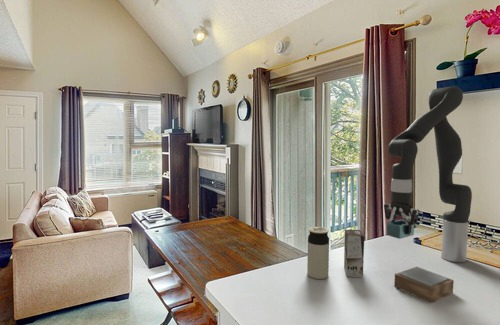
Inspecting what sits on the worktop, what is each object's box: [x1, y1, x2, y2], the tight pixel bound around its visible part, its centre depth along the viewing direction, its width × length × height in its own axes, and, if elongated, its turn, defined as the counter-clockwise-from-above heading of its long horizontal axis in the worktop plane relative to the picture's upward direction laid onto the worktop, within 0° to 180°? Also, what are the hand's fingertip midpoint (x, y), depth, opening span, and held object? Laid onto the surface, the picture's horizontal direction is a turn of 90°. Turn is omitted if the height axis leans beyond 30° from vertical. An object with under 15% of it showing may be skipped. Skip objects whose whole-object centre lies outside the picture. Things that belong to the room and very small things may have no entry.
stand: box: [393, 266, 454, 304], centre depth 107 cm, size 13×13×5 cm
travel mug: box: [306, 226, 330, 280], centre depth 118 cm, size 8×8×18 cm
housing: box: [386, 219, 415, 240], centre depth 121 cm, size 9×6×5 cm, turn 120°
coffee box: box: [343, 228, 366, 279], centre depth 120 cm, size 9×6×16 cm
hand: (400, 232), depth 121 cm, fingers closed on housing, 5 cm apart
